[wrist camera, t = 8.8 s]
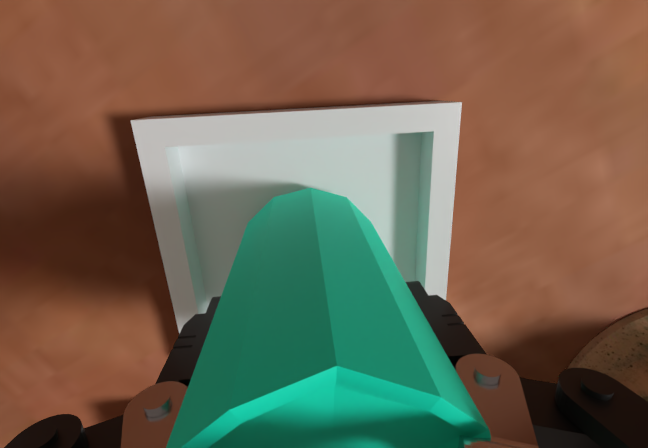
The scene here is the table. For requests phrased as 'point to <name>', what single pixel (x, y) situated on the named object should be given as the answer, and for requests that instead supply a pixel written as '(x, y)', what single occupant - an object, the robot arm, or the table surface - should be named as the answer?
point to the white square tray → (298, 183)
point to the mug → (620, 353)
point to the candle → (321, 344)
